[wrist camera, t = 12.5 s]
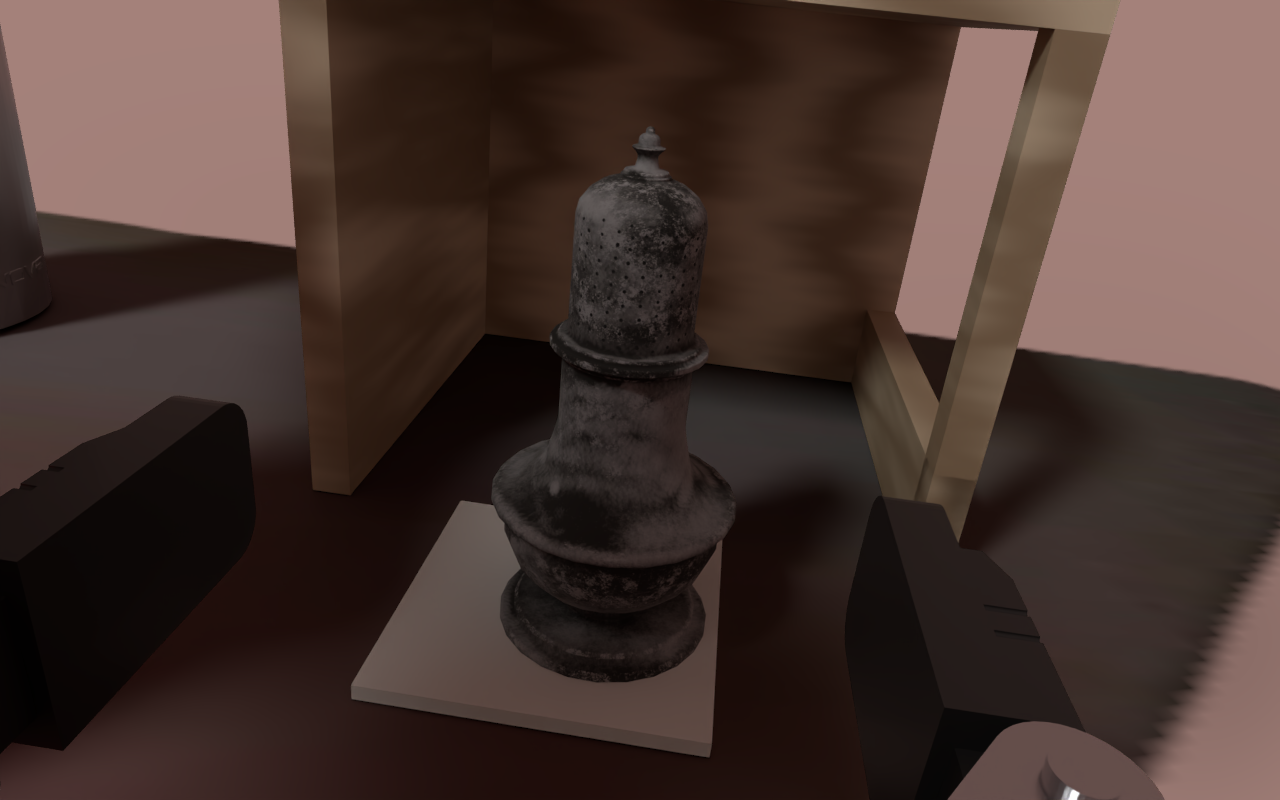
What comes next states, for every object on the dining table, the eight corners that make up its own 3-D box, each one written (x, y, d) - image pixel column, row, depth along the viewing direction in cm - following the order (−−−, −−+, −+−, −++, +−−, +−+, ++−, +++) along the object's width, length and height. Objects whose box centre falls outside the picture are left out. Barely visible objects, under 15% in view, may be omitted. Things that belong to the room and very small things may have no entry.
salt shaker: (680, 538, 26) (738, 116, 21) (749, 678, 20) (850, 161, 15) (478, 550, 24) (489, 97, 19) (499, 705, 19) (521, 140, 14)
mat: (351, 699, 19) (350, 685, 19) (460, 511, 26) (460, 500, 26) (709, 757, 19) (711, 743, 19) (720, 549, 26) (722, 538, 26)
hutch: (312, 490, 27) (271, -112, 20) (467, 321, 41) (473, -58, 35) (946, 583, 26) (1128, -26, 19) (874, 375, 40) (961, -7, 34)
